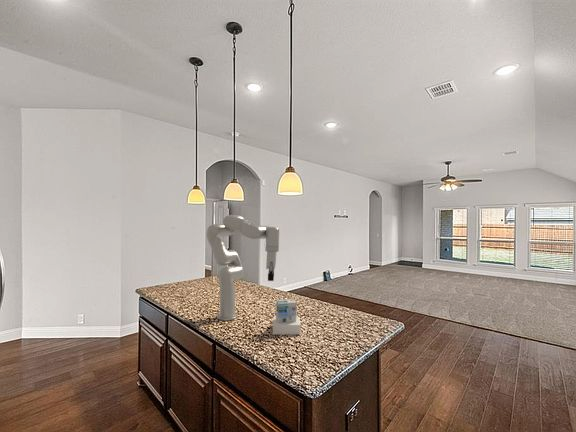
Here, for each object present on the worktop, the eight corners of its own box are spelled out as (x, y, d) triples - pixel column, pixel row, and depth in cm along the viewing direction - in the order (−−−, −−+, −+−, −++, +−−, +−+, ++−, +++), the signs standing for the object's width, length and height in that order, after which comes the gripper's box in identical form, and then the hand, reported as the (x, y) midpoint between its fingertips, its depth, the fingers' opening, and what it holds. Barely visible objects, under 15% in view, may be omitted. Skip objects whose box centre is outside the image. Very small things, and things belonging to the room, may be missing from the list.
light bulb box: (277, 323, 153) (278, 303, 153) (275, 318, 160) (275, 300, 160) (296, 321, 155) (297, 302, 155) (294, 317, 162) (294, 298, 162)
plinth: (273, 325, 163) (273, 316, 163) (299, 325, 164) (299, 316, 164) (272, 334, 150) (272, 325, 150) (300, 334, 151) (300, 325, 151)
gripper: (266, 246, 167) (265, 275, 168) (264, 250, 150) (263, 282, 150) (278, 247, 168) (277, 275, 168) (278, 250, 150) (277, 282, 150)
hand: (270, 278), depth 159 cm, fingers open, 9 cm apart
